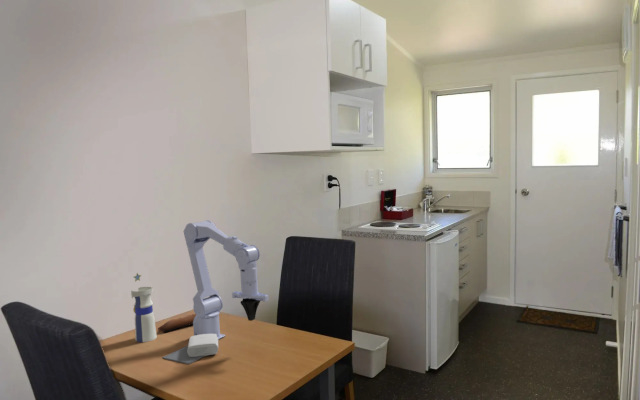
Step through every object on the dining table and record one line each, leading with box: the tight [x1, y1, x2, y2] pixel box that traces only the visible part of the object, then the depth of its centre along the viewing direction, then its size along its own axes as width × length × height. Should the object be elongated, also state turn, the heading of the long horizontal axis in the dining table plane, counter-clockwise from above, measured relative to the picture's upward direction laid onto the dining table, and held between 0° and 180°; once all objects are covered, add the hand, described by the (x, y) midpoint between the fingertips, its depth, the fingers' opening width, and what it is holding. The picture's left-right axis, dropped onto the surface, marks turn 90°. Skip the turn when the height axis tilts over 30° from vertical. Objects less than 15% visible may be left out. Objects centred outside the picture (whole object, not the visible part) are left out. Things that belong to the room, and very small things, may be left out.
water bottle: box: [130, 272, 158, 343], centre depth 180 cm, size 8×8×25 cm
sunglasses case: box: [157, 313, 196, 334], centre depth 194 cm, size 18×7×7 cm, turn 130°
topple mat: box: [162, 345, 208, 365], centre depth 162 cm, size 12×12×1 cm
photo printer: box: [187, 334, 219, 357], centre depth 164 cm, size 10×4×12 cm
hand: (251, 319), depth 163 cm, fingers closed
